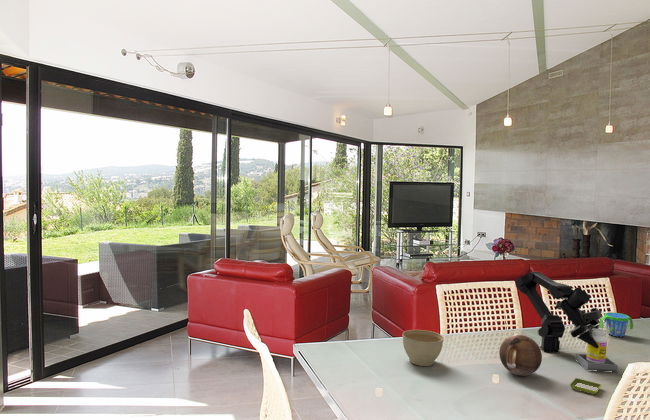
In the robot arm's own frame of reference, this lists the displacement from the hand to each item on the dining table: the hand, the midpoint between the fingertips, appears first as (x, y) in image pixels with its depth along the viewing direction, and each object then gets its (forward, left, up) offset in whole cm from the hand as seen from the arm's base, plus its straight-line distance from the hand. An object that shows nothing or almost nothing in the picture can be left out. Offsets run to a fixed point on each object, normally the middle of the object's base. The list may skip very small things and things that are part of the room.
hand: (600, 345), depth 194 cm
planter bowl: (-71, -7, -9) cm, 72 cm away
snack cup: (+29, +48, -9) cm, 57 cm away
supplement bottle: (-1, +1, -7) cm, 7 cm away
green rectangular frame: (-15, -23, -9) cm, 29 cm away
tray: (-1, +1, -9) cm, 9 cm away
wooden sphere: (-35, -13, -9) cm, 39 cm away
